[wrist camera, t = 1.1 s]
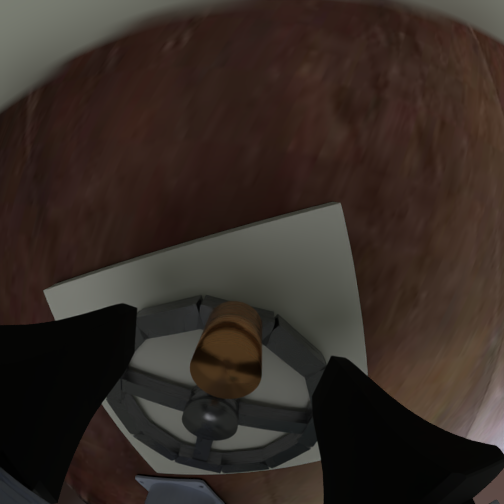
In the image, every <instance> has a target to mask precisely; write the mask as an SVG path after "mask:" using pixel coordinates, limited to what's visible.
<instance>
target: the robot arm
mask: <svg viewBox="0 0 504 504" xmlns="http://www.w3.org/2000/svg"><path fill="white" fill-rule="evenodd" d="M136 321H137V308H136V307H133V306H130V305H128V304H125V303H120V304H115V305H112V306H108V307H105V308H101V309H98V310H95V311H91V312H88V313H84V314H81V315H77V316H73V317H69V318H65V319H61V320H56V321H51V322H45V323H38V324H29V325H0V504H54V503H58V499H59V495H60V492H61V489H62V485H63V482H64V479H65V476H66V473H67V471H68V468H69V465H70V463H71V460H72V458H73V455H74V453H75V451H76V449H77V447H78V444H79V442H80V440H81V438H82V436H83V434H84V432H85V430H86V428H87V426H88V424H89V422H90V420H91V419H92V417H93V415H94V414H95V412H96V411H97V409H98V408H99V407H100V405H101V404H102V402H103V401H104V400H105V398H106V397H107V396H108V394H109V393H110V391H111V390H112V389H113V387H114V386H115V385H116V383H117V382H118V380H119V379H120V378H121V376H122V375H123V374H124V372H125V370H126V368H127V366H128V365H129V363H130V361H131V359H132V357H133V355H134V353H135V336H136ZM312 412H313V421H314V427H315V432H316V437H317V442H318V447H319V452H320V458H321V463H322V470H323V486H324V504H475V503H474V501H473V497H475V496H476V495H477V494H478V493H479V492H480V491H481V490H483V489H484V488H485V487H486V486H487V485H488V484H489V483H490V482H491V481H492V480H493V479H494V478H495V477H496V476H497V475H498V474H499V473H500V472H501V471H502V470H503V468H504V454H503V453H502V451H501V450H500V449H499V448H498V447H497V446H495V445H490V444H485V443H481V442H476V441H472V440H469V439H466V438H463V437H460V436H457V435H455V434H452V433H450V432H448V431H445V430H443V429H441V428H439V427H437V426H435V425H433V424H431V423H429V422H427V421H426V420H424V419H422V418H421V417H419V416H418V415H416V414H414V413H413V412H411V411H410V410H408V409H407V408H405V407H404V406H403V405H401V404H400V403H399V402H397V401H396V400H395V399H394V398H392V397H391V396H390V395H389V394H387V393H386V392H385V391H384V390H383V389H382V388H380V387H379V386H378V385H377V384H376V383H375V382H374V381H373V380H371V379H370V378H369V377H368V376H367V375H366V374H365V373H364V372H363V371H362V370H360V369H359V368H358V367H357V366H356V365H355V364H354V363H352V362H351V361H350V360H348V359H347V358H344V357H338V356H331V357H330V359H329V362H328V364H327V366H326V368H325V370H324V372H323V374H322V376H321V378H320V381H319V383H318V385H317V387H316V389H315V391H314V393H313V395H312ZM135 479H136V480H137V481H138V482H139V483H140V484H141V485H142V486H143V487H144V488H146V489H147V490H148V491H149V492H148V495H147V498H146V501H145V504H225V503H224V502H223V501H222V500H221V499H220V498H219V497H218V496H217V495H216V494H215V493H214V492H213V491H212V490H211V489H210V487H209V486H208V485H207V484H206V483H205V482H204V481H203V480H199V479H172V478H159V477H148V476H140V475H136V477H135ZM489 504H499V502H498V500H494V501H493V502H491V503H489Z"/></svg>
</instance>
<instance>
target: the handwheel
mask: <svg viewBox="0 0 504 504" xmlns="http://www.w3.org/2000/svg"><path fill="white" fill-rule="evenodd" d="M198 329H202V330H203V332H202V335H201V337H200V340H199V342H198V345H197V347H196V350H195V352H194V354H193V357H192V359H191V362H190V373H191V376H192V379H193V380H194V382H195V383H196V386H195V387H194V388H193V389H192V390H189V389H186V388H182V387H179V386H176V385H172V384H169V383H166V382H163V381H160V380H157V379H154V378H151V377H148V376H145V375H142V374H140V373H137V372H134V371H132V370H129V365H128V366H127V368H126V370H125V372H124V374H123V375H122V376H121V378H120V379H119V380H118V382H117V383H116V385H115V386H114V387H113V389H112V390H111V391H110V393H109V394H108V396H107V398H106V400H107V402H108V404H109V405H110V406H111V408H112V409H113V411H114V412H115V414H116V415H117V417H118V418H119V419H120V421H121V422H122V424H123V425H124V426H125V428H126V429H127V430H128V432H129V433H130V434H134V435H133V437H134V438H136V439H137V440H139V441H140V442H142V443H143V444H145V445H146V446H148V447H149V448H151V449H153V450H154V451H156V452H157V453H159V454H161V455H162V456H164V457H166V458H167V459H169V460H171V461H173V460H175V462H176V463H179V464H183V465H186V466H190V467H194V468H198V469H203V470H207V471H212V472H217V473H221V471H222V472H223V473H240V472H251V471H260V470H268V469H269V467H270V468H275V467H277V466H279V465H281V464H283V463H285V462H287V461H289V460H291V459H293V458H295V457H297V456H299V455H301V454H303V453H304V452H306V451H308V450H310V449H311V447H313V446H314V445H315V443H316V442H317V437H316V432H315V427H314V421H313V412H312V395H313V393H314V391H315V389H316V387H317V385H318V383H319V381H320V378H321V376H322V374H323V372H324V370H325V368H326V366H327V364H326V361H325V359H324V356H323V355H322V352H321V351H319V350H318V349H317V348H316V347H315V346H314V345H313V344H311V343H310V342H309V341H308V340H307V339H306V338H305V337H303V336H302V335H301V334H300V333H299V332H298V331H297V330H296V329H294V328H293V327H292V326H291V325H290V324H289V323H288V322H287V321H286V320H284V319H283V318H282V317H281V316H280V315H279V314H277V315H276V316H275V317H274V312H273V311H269V310H265V309H260V308H256V307H252V306H250V305H248V304H246V303H243V302H239V301H228V300H224V299H220V298H217V297H213V296H209V295H206V296H205V298H204V299H203V298H202V295H198V296H194V297H189V298H185V299H181V300H177V301H172V302H168V303H164V304H159V305H155V306H151V307H146V308H143V309H142V310H141V311H140V310H139V311H138V312H137V321H136V336H135V351H136V350H137V349H138V348H139V347H140V346H141V345H142V344H143V342H144V341H145V340H146V339H150V338H156V337H162V336H167V335H173V334H178V333H183V332H188V331H193V330H198ZM262 344H263V345H264V346H266V347H267V348H268V349H269V350H270V351H272V352H273V353H274V354H275V355H277V356H278V357H279V358H280V359H282V360H283V361H284V362H285V363H287V364H288V365H289V366H290V367H292V368H293V369H294V370H295V371H297V372H298V373H299V374H300V375H302V376H303V377H304V378H305V381H306V385H307V389H308V393H309V397H310V401H311V402H310V404H309V405H308V407H307V409H306V411H305V412H297V411H290V410H283V409H276V408H270V407H264V406H258V405H253V404H248V403H243V402H240V399H239V398H241V397H244V396H246V395H248V394H250V393H252V392H253V391H254V390H255V389H256V388H257V387H258V385H259V384H260V381H261V378H262ZM131 394H132V395H135V396H137V397H140V398H143V399H146V400H148V401H151V402H154V403H157V404H160V405H163V406H166V407H169V408H173V409H176V410H179V411H183V415H182V423H183V425H184V427H185V428H186V429H187V430H188V431H189V432H190V433H192V434H193V435H195V436H197V440H196V444H195V447H194V446H190V445H186V444H183V443H181V442H179V441H178V440H176V439H174V438H173V437H171V436H170V435H168V434H167V433H165V432H164V431H162V430H161V429H159V428H158V427H156V426H155V425H153V424H152V423H150V422H149V421H148V420H147V418H146V417H145V415H144V414H143V412H142V411H141V409H140V408H139V406H138V405H137V403H136V401H135V400H134V398H133V397H132V395H131ZM238 425H241V426H247V427H252V428H258V429H264V430H271V431H278V432H286V433H290V434H288V435H286V436H285V437H283V438H281V439H279V440H278V441H276V442H274V443H272V444H270V445H268V446H267V447H265V448H263V449H257V450H249V451H240V452H229V453H220V452H215V451H210V449H211V446H212V443H213V441H220V440H225V439H228V438H230V437H232V436H233V435H234V434H235V433H236V432H237V429H238Z"/></svg>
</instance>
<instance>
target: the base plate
mask: <svg viewBox="0 0 504 504" xmlns="http://www.w3.org/2000/svg"><path fill="white" fill-rule="evenodd" d="M43 291H44V294H45V296H46V299H47V301H48V304H49V306H50V309H51V311H52V313H53V316H54V318H55V320H61V319H65V318H69V317H73V316H77V315H81V314H84V313H88V312H91V311H95V310H98V309H101V308H105V307H108V306H112V305H115V304H120V303H125V304H128V305H130V306H133V307H136V308H137V312H138V311H139V310H140V311H141V310H142V309H143V308H146V307H151V306H155V305H159V304H164V303H168V302H172V301H177V300H181V299H185V298H189V297H194V296H198V295H202V298H203V299H204V298H205V296H206V295H209V296H213V297H217V298H220V299H224V300H228V301H239V302H243V303H246V304H248V305H250V306H252V307H256V308H260V309H265V310H269V311H273V312H274V317H275V316H276V315H277V314H279V315H280V316H281V317H282V318H283V319H284V320H286V321H287V322H288V323H289V324H290V325H291V326H292V327H293V328H294V329H296V330H297V331H298V332H299V333H300V334H301V335H302V336H303V337H305V338H306V339H307V340H308V341H309V342H310V343H311V344H313V345H314V346H315V347H316V348H317V349H318V350H319V351H321V352H322V355H323V356H324V359H325V361H326V364H328V362H329V359H330V357H331V356H338V357H344V358H347V359H348V360H350V361H351V362H352V363H354V364H355V365H356V366H357V367H358V368H359V369H360V370H362V371H363V372H364V373H365V374H366V375H367V376H368V372H367V360H366V349H365V339H364V330H363V322H362V314H361V307H360V300H359V293H358V287H357V281H356V275H355V269H354V264H353V258H352V253H351V248H350V243H349V238H348V233H347V228H346V224H345V219H344V215H343V211H342V206H341V203H337V202H330V203H326V204H322V205H318V206H314V207H310V208H306V209H303V210H299V211H295V212H291V213H288V214H284V215H280V216H276V217H273V218H269V219H265V220H262V221H258V222H254V223H251V224H247V225H244V226H240V227H237V228H233V229H230V230H226V231H223V232H219V233H216V234H212V235H209V236H205V237H202V238H198V239H195V240H192V241H188V242H185V243H182V244H178V245H175V246H172V247H168V248H165V249H162V250H158V251H155V252H152V253H149V254H145V255H142V256H139V257H136V258H133V259H130V260H126V261H123V262H120V263H117V264H114V265H111V266H108V267H105V268H101V269H98V270H95V271H92V272H89V273H86V274H83V275H80V276H77V277H74V278H71V279H68V280H65V281H62V282H60V283H57V284H55V285H53V286H51V287H49V288H47V289H45V290H43ZM202 332H203V330H202V329H198V330H193V331H188V332H183V333H178V334H173V335H167V336H162V337H156V338H150V339H146V340H145V341H144V342H143V344H142V345H141V346H140V347H139V348H138V349H137V350H136V351H135V353H134V355H133V357H132V359H131V361H130V363H129V370H132V371H134V372H137V373H140V374H142V375H145V376H148V377H151V378H154V379H157V380H160V381H163V382H166V383H169V384H172V385H176V386H179V387H182V388H186V389H189V390H192V389H193V388H194V387H195V386H196V383H195V382H194V380H193V379H192V376H191V373H190V362H191V359H192V357H193V354H194V352H195V350H196V347H197V345H198V342H199V340H200V337H201V335H202ZM131 395H132V394H131ZM132 397H133V398H134V400H135V401H136V403H137V405H138V406H139V408H140V409H141V411H142V412H143V414H144V415H145V417H146V418H147V420H148V421H149V422H150V423H152V424H153V425H155V426H156V427H158V428H159V429H161V430H162V431H164V432H165V433H167V434H168V435H170V436H171V437H173V438H174V439H176V440H178V441H179V442H181V443H183V444H186V445H190V446H194V447H195V444H196V440H197V436H195V435H193V434H192V433H190V432H189V431H188V430H187V429H186V428H185V427H184V425H183V423H182V415H183V411H179V410H176V409H173V408H169V407H166V406H163V405H160V404H157V403H154V402H151V401H148V400H146V399H143V398H140V397H137V396H135V395H132ZM106 398H107V397H106ZM106 398H105V400H104V401H103V402H102V405H103V406H104V408H105V409H106V411H107V412H108V414H109V415H110V416H111V418H112V419H113V420H114V422H115V423H116V425H117V426H118V427H119V429H120V430H121V431H122V432H123V434H124V435H125V436H126V438H127V439H128V440H129V441H130V443H131V444H132V445H133V446H134V447H135V449H136V450H137V451H138V452H139V453H140V455H141V456H142V457H143V458H144V459H145V460H146V461H147V463H148V464H149V465H150V466H151V467H152V468H153V469H154V470H155V471H156V472H157V473H168V474H231V473H223V472H222V471H221V473H217V472H212V471H207V470H203V469H198V468H194V467H190V466H186V465H183V464H179V463H176V462H175V460H173V461H171V460H169V459H167V458H166V457H164V456H162V455H161V454H159V453H157V452H156V451H154V450H153V449H151V448H149V447H148V446H146V445H145V444H143V443H142V442H140V441H139V440H137V439H136V438H134V437H133V435H134V434H130V433H129V432H128V430H127V429H126V428H125V426H124V425H123V424H122V422H121V421H120V419H119V418H118V417H117V415H116V414H115V412H114V411H113V409H112V408H111V406H110V405H109V404H108V402H107V400H106ZM239 399H240V402H243V403H248V404H253V405H258V406H264V407H270V408H276V409H283V410H290V411H297V412H305V411H306V409H307V407H308V405H309V404H310V402H311V401H310V397H309V393H308V389H307V385H306V381H305V378H304V377H303V376H302V375H300V374H299V373H298V372H297V371H295V370H294V369H293V368H292V367H290V366H289V365H288V364H287V363H285V362H284V361H283V360H282V359H280V358H279V357H278V356H277V355H275V354H274V353H273V352H272V351H270V350H269V349H268V348H267V347H266V346H264V345H263V344H262V378H261V381H260V384H259V385H258V387H257V388H256V389H255V390H254V391H253V392H252V393H250V394H248V395H246V396H244V397H241V398H239ZM288 434H290V433H286V432H278V431H271V430H264V429H258V428H252V427H247V426H241V425H238V429H237V432H236V433H235V434H234V435H233V436H232V437H230V438H228V439H225V440H220V441H213V443H212V446H211V449H210V451H215V452H220V453H229V452H240V451H249V450H257V449H263V448H265V447H267V446H268V445H270V444H272V443H274V442H276V441H278V440H279V439H281V438H283V437H285V436H286V435H288ZM320 460H321V458H320V452H319V447H318V442H316V443H315V445H314V446H313V447H311V449H310V450H308V451H306V452H304V453H303V454H301V455H299V456H297V457H295V458H293V459H291V460H289V461H287V462H285V463H283V464H281V465H279V466H277V467H275V468H270V467H269V469H268V470H271V469H278V468H285V467H291V466H296V465H301V464H306V463H311V462H316V461H320ZM260 471H264V470H260ZM251 472H255V471H251ZM240 473H245V472H240Z"/></svg>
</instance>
